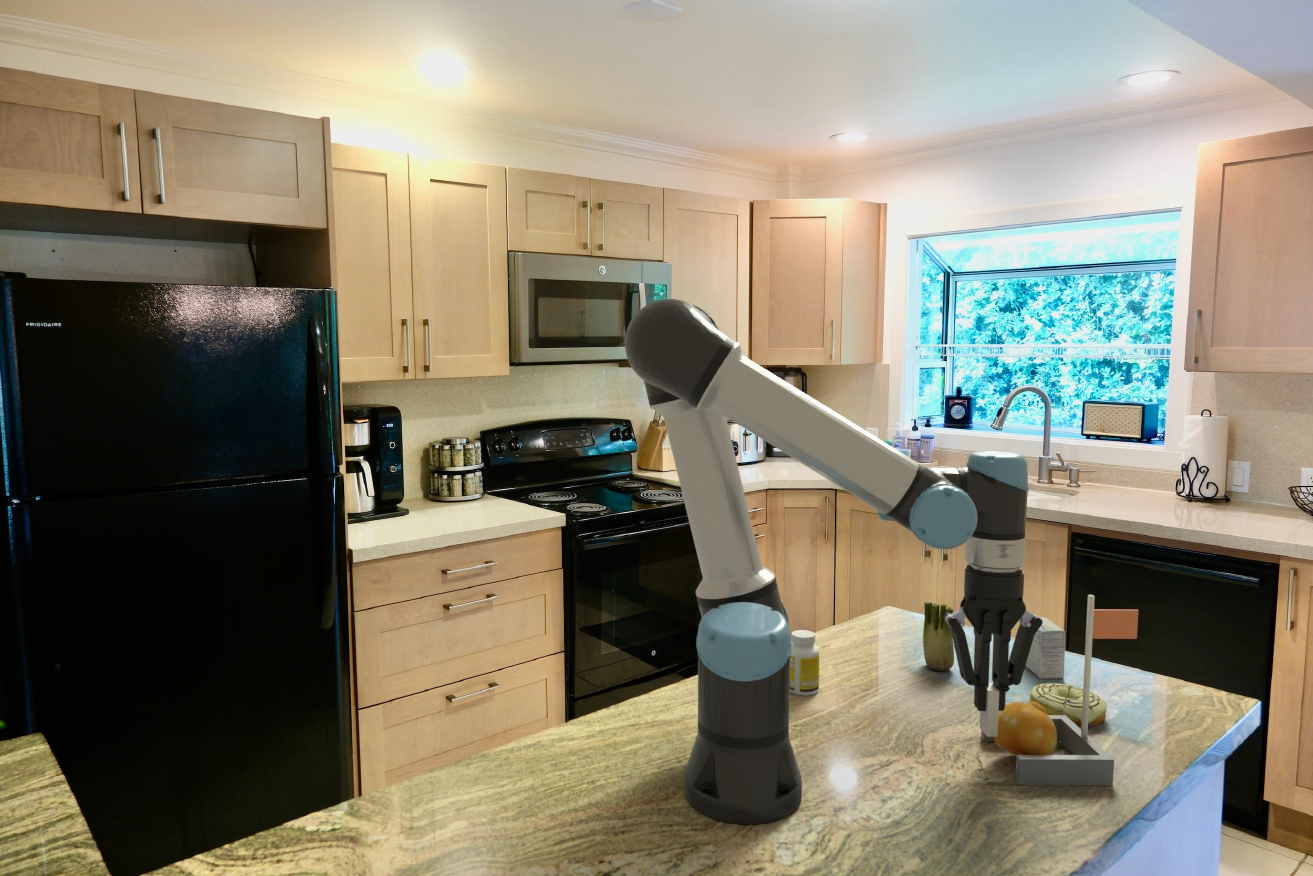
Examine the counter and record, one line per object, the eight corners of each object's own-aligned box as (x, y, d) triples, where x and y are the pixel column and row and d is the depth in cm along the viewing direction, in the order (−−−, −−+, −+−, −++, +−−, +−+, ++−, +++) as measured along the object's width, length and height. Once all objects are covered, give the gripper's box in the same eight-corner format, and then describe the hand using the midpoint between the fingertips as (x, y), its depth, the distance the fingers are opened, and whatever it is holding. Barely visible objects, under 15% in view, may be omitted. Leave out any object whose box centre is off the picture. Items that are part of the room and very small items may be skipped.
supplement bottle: (823, 688, 141) (824, 632, 140) (811, 699, 136) (812, 641, 135) (793, 681, 144) (794, 626, 143) (781, 692, 139) (781, 635, 138)
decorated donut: (1100, 737, 123) (1101, 712, 123) (1023, 718, 129) (1024, 695, 129) (1109, 712, 132) (1111, 689, 131) (1036, 695, 138) (1037, 674, 137)
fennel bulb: (918, 663, 152) (920, 599, 151) (944, 661, 153) (946, 598, 151) (932, 675, 146) (934, 608, 145) (958, 673, 147) (961, 607, 146)
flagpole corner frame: (1019, 784, 109) (1026, 610, 107) (981, 737, 122) (987, 582, 120) (1157, 785, 109) (1168, 610, 106) (1104, 738, 122) (1112, 582, 120)
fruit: (1028, 744, 120) (1031, 691, 120) (1069, 771, 113) (1072, 714, 112) (979, 750, 118) (981, 696, 118) (1017, 779, 111) (1019, 721, 110)
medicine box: (1064, 679, 144) (1066, 631, 143) (1038, 679, 144) (1040, 631, 143) (1044, 662, 152) (1046, 616, 151) (1019, 662, 152) (1021, 616, 151)
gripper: (955, 573, 109) (950, 744, 112) (1055, 572, 109) (1047, 744, 111) (937, 559, 117) (932, 720, 119) (1030, 558, 117) (1024, 720, 119)
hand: (988, 732), depth 115 cm, fingers closed
